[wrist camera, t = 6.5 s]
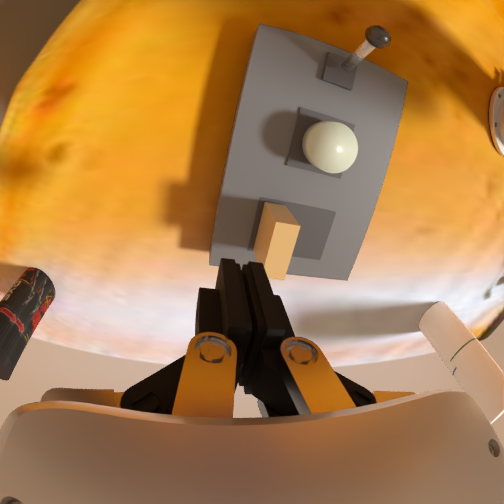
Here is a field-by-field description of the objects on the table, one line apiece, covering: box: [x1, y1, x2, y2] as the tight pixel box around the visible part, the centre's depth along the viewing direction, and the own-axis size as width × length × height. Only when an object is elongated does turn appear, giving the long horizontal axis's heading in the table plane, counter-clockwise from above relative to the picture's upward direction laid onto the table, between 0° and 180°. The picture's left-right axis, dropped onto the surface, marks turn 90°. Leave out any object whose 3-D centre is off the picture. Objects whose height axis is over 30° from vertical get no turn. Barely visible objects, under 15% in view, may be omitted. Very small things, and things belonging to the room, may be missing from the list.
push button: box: [302, 121, 358, 173], centre depth 21 cm, size 4×4×2 cm
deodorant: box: [0, 268, 55, 380], centre depth 23 cm, size 6×6×15 cm
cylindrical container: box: [419, 302, 504, 424], centre depth 31 cm, size 7×7×25 cm
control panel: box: [209, 24, 408, 280], centre depth 25 cm, size 24×16×4 cm, turn 168°
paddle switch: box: [253, 202, 300, 280], centre depth 24 cm, size 5×2×5 cm, turn 168°
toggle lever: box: [341, 25, 391, 72], centre depth 15 cm, size 2×2×6 cm
